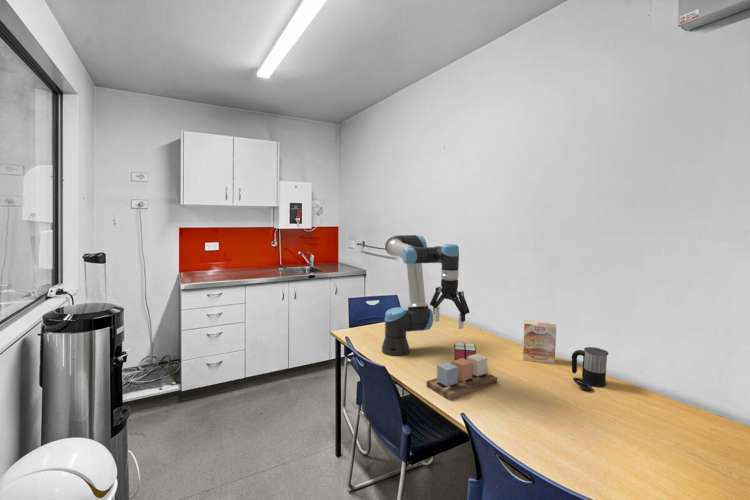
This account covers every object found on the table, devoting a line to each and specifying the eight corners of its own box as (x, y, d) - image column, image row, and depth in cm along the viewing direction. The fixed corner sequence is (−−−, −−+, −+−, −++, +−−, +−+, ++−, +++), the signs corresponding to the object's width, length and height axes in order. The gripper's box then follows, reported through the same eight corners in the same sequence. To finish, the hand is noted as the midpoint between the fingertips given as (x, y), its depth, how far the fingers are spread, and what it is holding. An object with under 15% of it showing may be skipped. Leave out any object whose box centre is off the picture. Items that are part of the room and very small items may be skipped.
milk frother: (603, 380, 164) (605, 348, 163) (613, 396, 149) (615, 361, 148) (568, 375, 169) (569, 344, 167) (574, 390, 154) (576, 356, 153)
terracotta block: (452, 376, 160) (452, 360, 159) (462, 373, 163) (462, 357, 162) (462, 381, 155) (462, 365, 154) (472, 377, 158) (472, 362, 157)
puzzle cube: (475, 371, 174) (476, 350, 173) (454, 369, 176) (454, 349, 175) (474, 362, 183) (474, 343, 183) (454, 361, 185) (454, 342, 185)
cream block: (467, 371, 165) (467, 356, 164) (476, 368, 168) (476, 353, 167) (477, 376, 160) (477, 360, 159) (486, 373, 163) (486, 358, 162)
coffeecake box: (522, 360, 187) (524, 323, 185) (522, 355, 193) (524, 319, 192) (555, 364, 181) (556, 326, 179) (553, 359, 188) (555, 322, 186)
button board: (426, 386, 157) (426, 381, 157) (473, 371, 173) (473, 366, 173) (449, 400, 146) (449, 394, 145) (497, 382, 161) (497, 377, 161)
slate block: (437, 381, 155) (437, 365, 154) (447, 377, 158) (447, 362, 158) (447, 386, 150) (447, 370, 149) (457, 383, 153) (457, 367, 153)
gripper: (422, 276, 169) (422, 320, 172) (468, 284, 151) (467, 333, 153) (433, 274, 174) (432, 317, 177) (478, 281, 156) (477, 329, 158)
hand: (448, 324), depth 165 cm, fingers open, 13 cm apart
